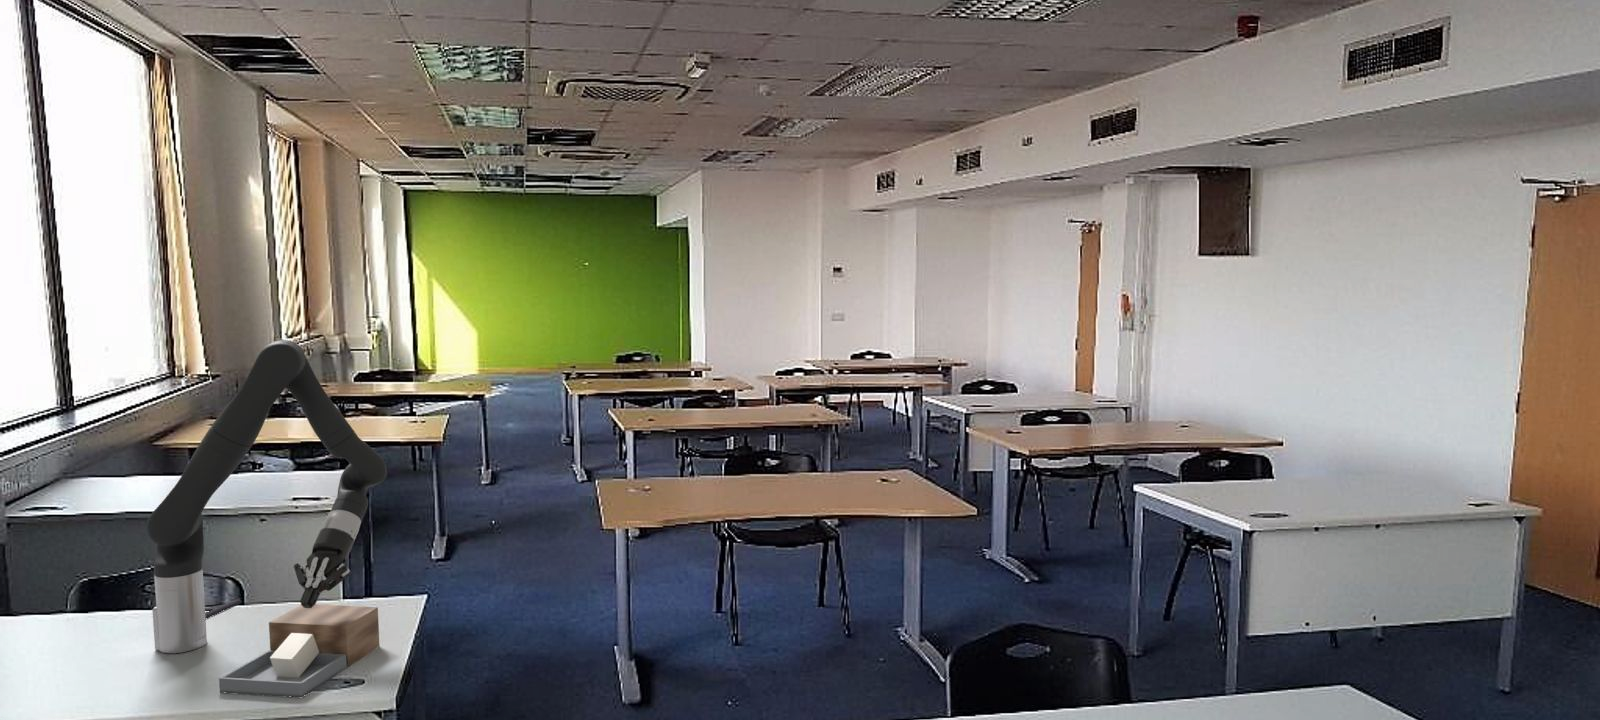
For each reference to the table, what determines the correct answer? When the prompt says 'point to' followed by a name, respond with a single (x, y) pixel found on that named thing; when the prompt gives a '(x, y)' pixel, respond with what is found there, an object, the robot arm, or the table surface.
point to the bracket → (220, 608)
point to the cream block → (294, 655)
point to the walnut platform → (331, 629)
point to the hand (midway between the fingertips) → (306, 606)
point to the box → (263, 679)
